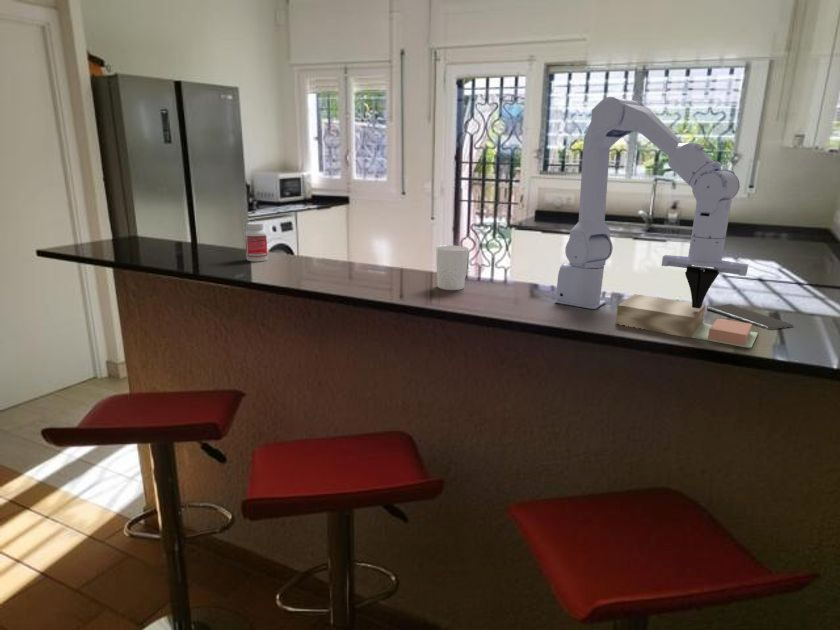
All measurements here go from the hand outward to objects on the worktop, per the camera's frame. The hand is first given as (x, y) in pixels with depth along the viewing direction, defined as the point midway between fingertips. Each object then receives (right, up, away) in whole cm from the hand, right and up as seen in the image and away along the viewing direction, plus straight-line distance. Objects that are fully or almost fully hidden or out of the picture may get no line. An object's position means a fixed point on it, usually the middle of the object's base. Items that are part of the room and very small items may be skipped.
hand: (696, 307), depth 110 cm
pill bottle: (-103, +15, +62) cm, 121 cm away
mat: (+5, -5, -1) cm, 7 cm away
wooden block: (-5, -3, +6) cm, 8 cm away
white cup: (-46, +5, +33) cm, 57 cm away
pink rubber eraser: (+5, -4, -3) cm, 7 cm away
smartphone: (+17, -3, +12) cm, 21 cm away
